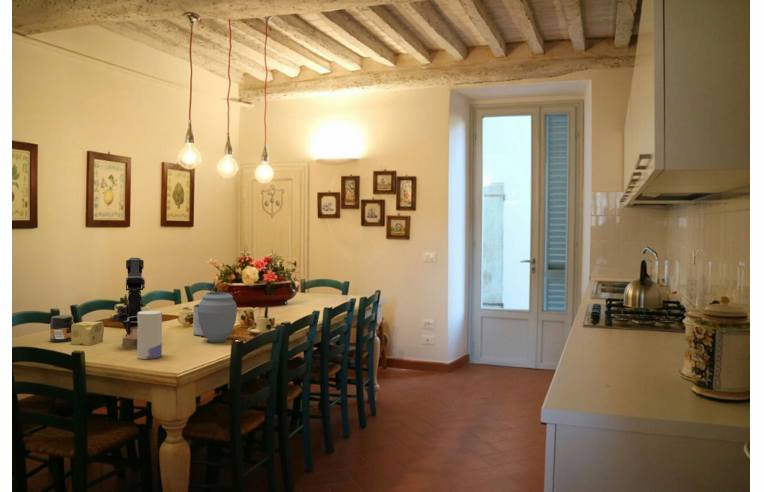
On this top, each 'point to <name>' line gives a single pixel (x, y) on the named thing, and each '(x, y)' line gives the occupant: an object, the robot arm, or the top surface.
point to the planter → (196, 322)
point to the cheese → (87, 332)
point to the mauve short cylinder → (129, 343)
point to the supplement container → (61, 328)
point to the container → (149, 334)
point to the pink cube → (132, 333)
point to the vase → (217, 315)
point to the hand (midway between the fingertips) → (134, 333)
